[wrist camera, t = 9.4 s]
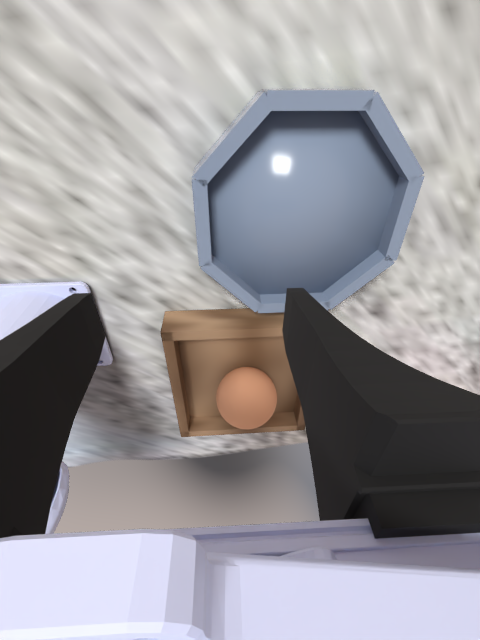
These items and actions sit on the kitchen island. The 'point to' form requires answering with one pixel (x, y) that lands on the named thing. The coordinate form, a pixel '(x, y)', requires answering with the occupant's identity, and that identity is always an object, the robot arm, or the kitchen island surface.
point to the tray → (226, 366)
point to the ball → (246, 398)
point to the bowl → (304, 196)
